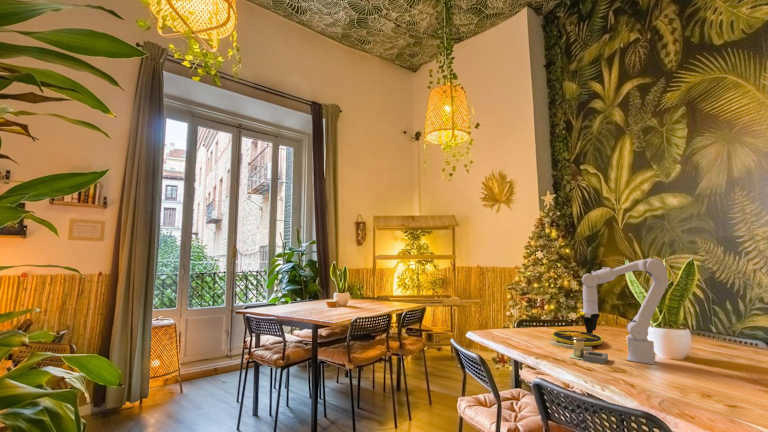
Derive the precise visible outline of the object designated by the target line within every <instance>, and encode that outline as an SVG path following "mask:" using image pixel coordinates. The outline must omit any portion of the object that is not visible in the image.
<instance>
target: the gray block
mask: <svg viewBox="0 0 768 432" xmlns="http://www.w3.org/2000/svg"><path fill="white" fill-rule="evenodd" d="M608 356H609V355H608V353H606V352H598V351H593V350H589V351H586V350H585V351H584V354H583V360H582V362H586V361H588V362H587V363H592V362H593V364H598V363H600V364H599V365H604V364H605V365H606V363H607V362H608V361H609V360H608V359H609V357H608Z"/></svg>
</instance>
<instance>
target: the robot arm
mask: <svg viewBox="0 0 768 432" xmlns="http://www.w3.org/2000/svg"><path fill="white" fill-rule="evenodd" d="M633 271H641V272H645V273H646V274H648V275H649V277H650V279H651V280H652V284H651V285H650V288H649V290H648V292H647V294H646V296H645V297H644V300H643V302H642V304H641V306H640V308H639V309H638V312H637V314H636V315H635V316H634V317H633V319H632V320H630V322H628V323H627V325H626V330H627V332H628V335H627V351H628V353H627V357H626V361H629V362H636V363H642V364H649V365H654V364H655V360H656V355H655V344H654V341H653V340H649V339H648V336H649V327H650V324H651V323H650V322H651V319H652V317H653V316H654V315H655V314H654V313H655V312H656V309H657V307H658V306H659V304H660V302H661V299H662V298H663V296H664V293H665V291H666V290H667V288H668V286H669V278H668V277H669V276H668V274H667V273H668V272H667V267H666V265H665V264H664V262H663V261H662V260H661V259H659V258H650V257H648V258H645V259H638V260H635V261H632V262H630V263H626V264H624V265H620V266H618V267H614V268H611V267H606V266H603V267H601V269H599V270H595V271H594V270H592V271H591V273H585V274H584V275H583V276H582V277H581V282H582V284H583V285H582V304H583V305H582V306H583V307H582V308H583V309H580V312H581V313H584V315H581V319H582V321H583V324H584V328H585V330H586V331H585V332H587V333H593V334H594V331H596V329H597V325H598V320H599V318H600V313H599V308H598V307H599V306H598V305H599V304H598V290H597V285H598V284H599V285H601V284H604V283H608V282H610V281H614V280H615V279H616V277H617V276H619V275H620V276H621V275H623V274H626V273H630V272H633Z"/></svg>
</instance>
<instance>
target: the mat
mask: <svg viewBox="0 0 768 432" xmlns="http://www.w3.org/2000/svg"><path fill="white" fill-rule="evenodd" d="M568 358H569V359H572V358H575V359H574V360H578V359H581V360H580V361H583V358H577V357H574V353H572V354H571V355H570V356H569V357H568Z"/></svg>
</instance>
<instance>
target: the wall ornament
mask: <svg viewBox="0 0 768 432" xmlns="http://www.w3.org/2000/svg"><path fill="white" fill-rule="evenodd" d="M573 337H582V338H584V351H585V352H586V351H593V347H592V346H598V345H601V344H603V343H604V338H603V337H602V336H601V335H600V334H596V333H594V332H593V333H587V331H584V330H583V331H582V330H572V329H571V330H569V329H568V330H567V329H564V330H562V329H561V330H556V331H553V332H552V333H551V338H552V339H553V340H551V339H550V340H549V342H550V344H552V345H553V346H556V347H560V348H565V349H568V348H570V349H569V350H574V342H573ZM554 340H555V341H554Z"/></svg>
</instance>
